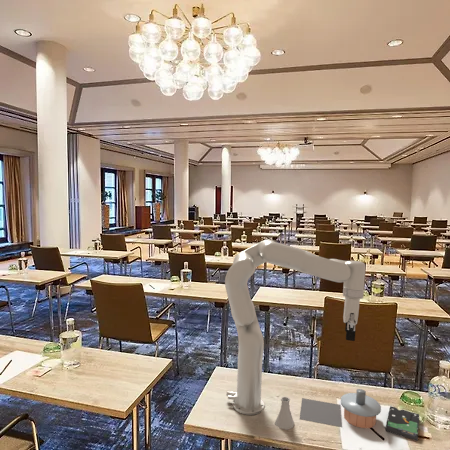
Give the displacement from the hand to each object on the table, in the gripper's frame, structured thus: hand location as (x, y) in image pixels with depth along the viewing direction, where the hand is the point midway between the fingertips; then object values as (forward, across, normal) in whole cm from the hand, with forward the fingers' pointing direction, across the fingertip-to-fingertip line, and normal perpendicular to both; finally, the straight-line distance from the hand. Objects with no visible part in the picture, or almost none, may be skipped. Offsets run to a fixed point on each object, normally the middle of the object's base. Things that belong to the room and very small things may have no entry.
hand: (349, 335), depth 139 cm
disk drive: (+30, +4, +20) cm, 36 cm away
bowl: (+29, +7, +5) cm, 30 cm away
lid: (+23, +7, +5) cm, 25 cm away
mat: (+30, +7, -9) cm, 32 cm away
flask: (+30, +19, -21) cm, 41 cm away
